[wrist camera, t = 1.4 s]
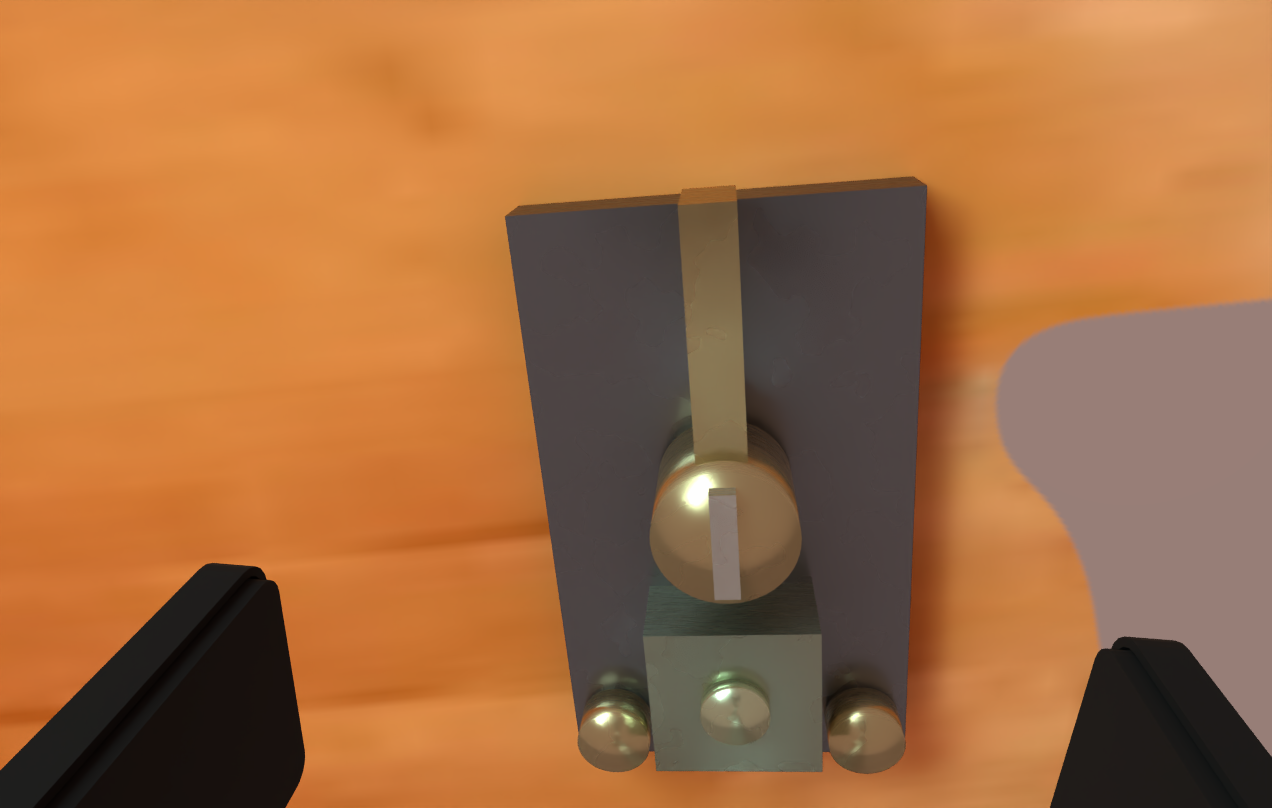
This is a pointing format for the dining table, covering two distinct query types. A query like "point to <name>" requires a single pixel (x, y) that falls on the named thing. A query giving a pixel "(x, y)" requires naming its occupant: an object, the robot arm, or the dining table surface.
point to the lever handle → (720, 435)
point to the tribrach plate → (775, 402)
